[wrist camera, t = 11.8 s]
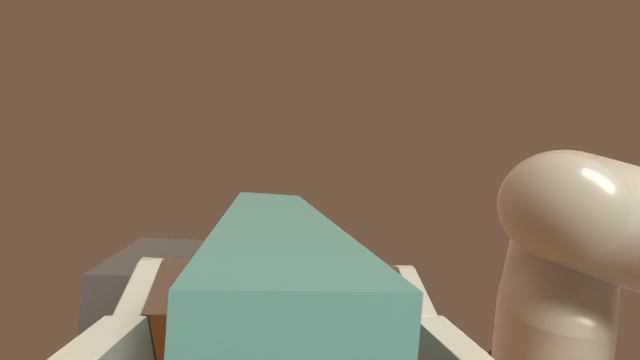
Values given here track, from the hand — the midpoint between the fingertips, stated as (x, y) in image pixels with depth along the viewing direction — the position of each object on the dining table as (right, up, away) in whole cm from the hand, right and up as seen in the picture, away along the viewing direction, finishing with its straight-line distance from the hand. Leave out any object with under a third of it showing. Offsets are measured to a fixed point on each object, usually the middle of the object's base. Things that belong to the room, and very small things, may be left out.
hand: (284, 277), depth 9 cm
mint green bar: (-1, -2, +5) cm, 6 cm away
